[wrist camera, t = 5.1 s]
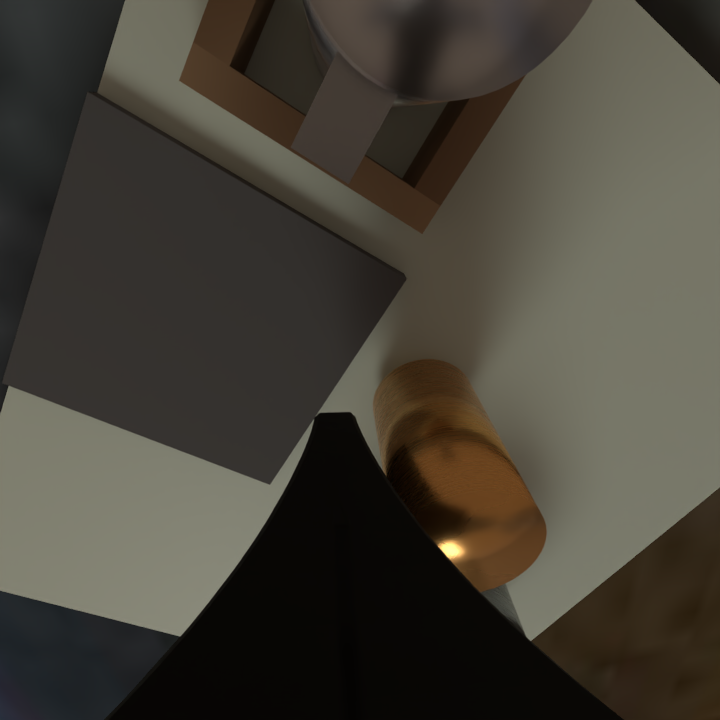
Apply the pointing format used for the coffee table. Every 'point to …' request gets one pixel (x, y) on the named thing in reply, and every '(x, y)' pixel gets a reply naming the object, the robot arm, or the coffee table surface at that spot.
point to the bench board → (433, 319)
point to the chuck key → (415, 61)
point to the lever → (456, 472)
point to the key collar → (282, 121)
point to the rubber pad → (189, 300)
